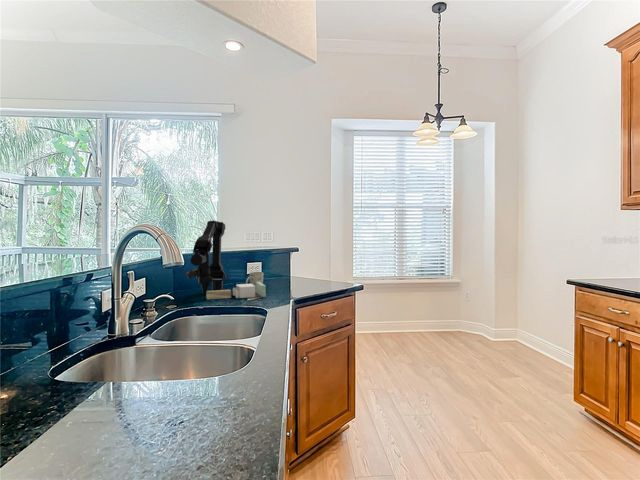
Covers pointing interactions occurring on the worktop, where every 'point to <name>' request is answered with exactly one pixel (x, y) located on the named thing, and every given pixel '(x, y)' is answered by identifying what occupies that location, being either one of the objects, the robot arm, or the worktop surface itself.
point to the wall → (261, 289)
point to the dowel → (218, 294)
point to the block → (244, 290)
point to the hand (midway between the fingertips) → (204, 294)
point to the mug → (255, 278)
